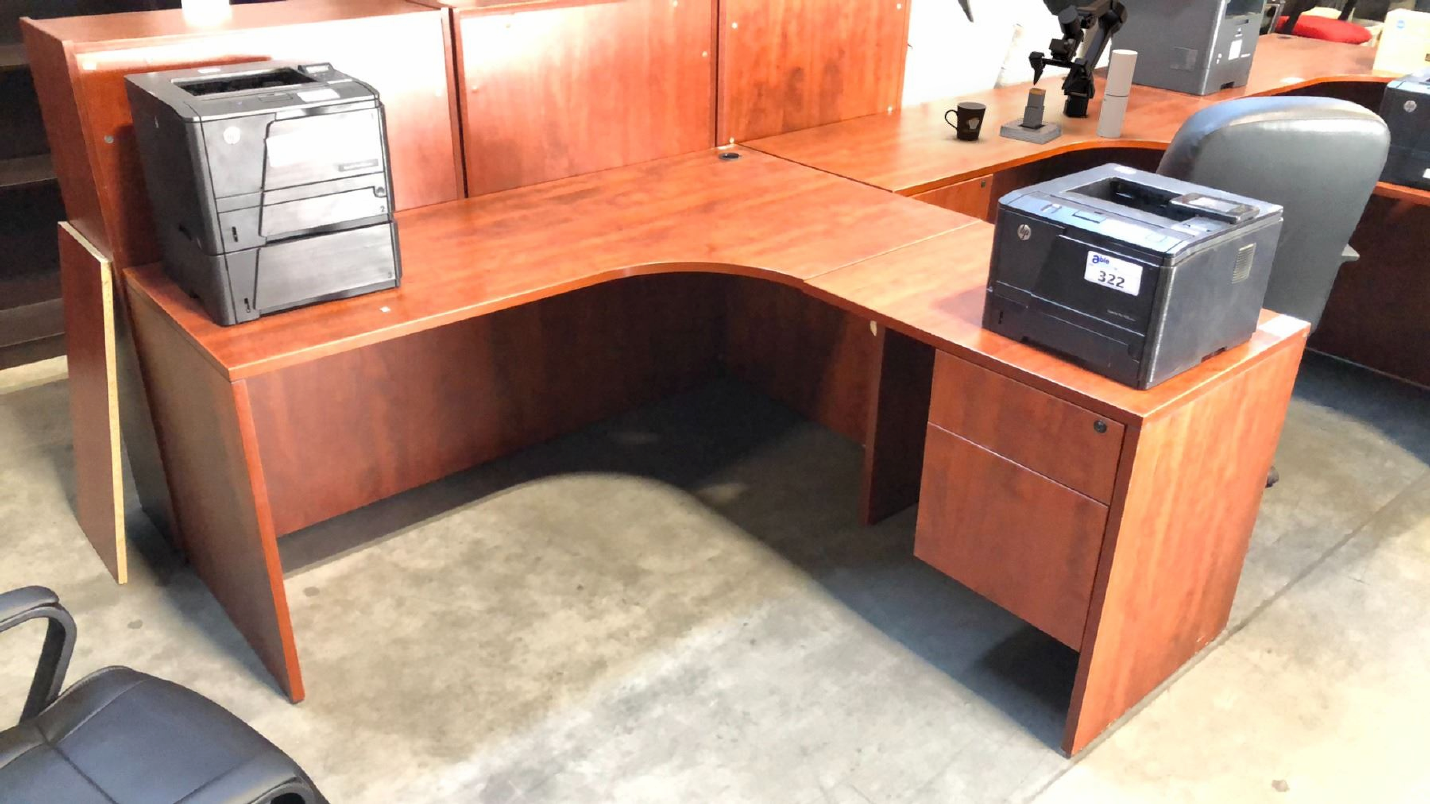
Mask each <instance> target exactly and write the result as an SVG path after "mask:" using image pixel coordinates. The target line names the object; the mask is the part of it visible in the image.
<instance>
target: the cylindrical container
mask: <svg viewBox="0 0 1430 804" xmlns="http://www.w3.org/2000/svg"><path fill="white" fill-rule="evenodd" d="M1137 58H1138V52H1137V51H1135V50H1130V49H1114V50H1112V53H1111V56H1110V63H1109V67H1108V73H1107V78H1106V82H1105V89H1104V94H1103V97H1102V103H1101V109H1100V113H1099V119H1098V124H1097V129H1096V135H1097V136H1099V137H1101V136H1103V137H1102V138H1107V139H1117V138H1120V137H1121V135H1122V130H1123V126H1124V125H1123V124H1124V121H1125V114H1126V112H1127V111H1126V110H1127V107H1128V102H1129V97H1130V96H1129V95H1130V92H1131V86H1132V82H1133V78H1134V73H1135V67H1136V62H1137Z"/></svg>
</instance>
